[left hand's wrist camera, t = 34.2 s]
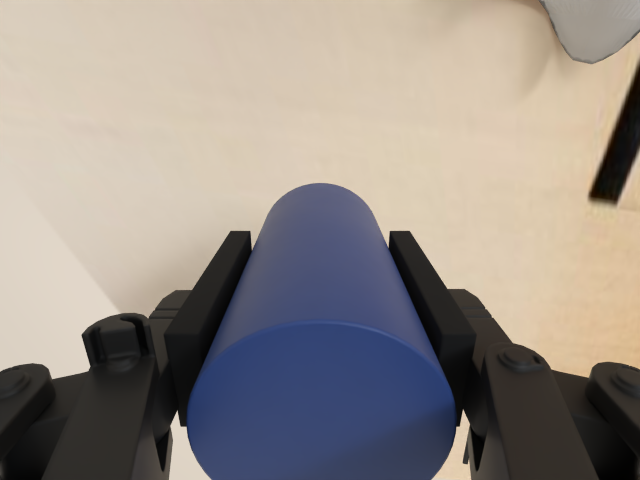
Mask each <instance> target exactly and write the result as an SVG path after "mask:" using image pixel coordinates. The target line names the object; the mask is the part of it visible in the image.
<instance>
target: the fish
mask: <svg viewBox="0 0 640 480" xmlns="http://www.w3.org/2000/svg"><path fill="white" fill-rule="evenodd" d="M539 2H540V3H541V4H542V6H543V7H544V8H545V10H546V11H547V12H548V14H549V17H550V20H551V23H552V26H553V28H554V31H555V33H556V35H557V37H558V39H559V41H560V43H561V44H562V46H563V48H564V49H565V51H566V53H567V54H568V55H569V56H570V57H571V58H572V60H575V61H579V62H584V63H589V64H593V63H596V62H599V61H601V60H604V59H605V58H607V57H609V56H611V55H612V54H614V53H616V52H618V51H619V50H620V49H621V48H622V47H624V46H625V45H626V44H627V43H628V42H629V41H631V40H632V39H633V38H634V37H635V36H636V35H637V34H638V33H639V32H640V0H539Z"/></svg>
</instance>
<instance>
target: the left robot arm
mask: <svg viewBox="0 0 640 480" xmlns="http://www.w3.org/2000/svg"><path fill="white" fill-rule="evenodd" d="M389 251H390V253H391V255H392V258H393V260H394V262H395V264H396V267H397V269H398V271H399V273H400V276H401V278H402V280H403V282H404V285H405V287H406V289H407V291H408V294H409V296H410V298H411V300H412V303H413V305H414V307H415V309H416V312H417V314H418V316H419V318H420V321H421V323H422V325H423V327H424V330H425V332H426V334H427V337H428V339H429V341H430V343H431V346H432V348H433V350H434V352H435V355H436V357H437V359H438V361H439V364H440V366H441V368H442V370H443V373H444V375H445V377H446V379H447V382H448V384H449V386H450V388H451V391H452V394H453V397H454V401H455V405H456V414H457V423H456V427H460V422H461V416H462V411H463V410H464V412H465V414H466V416H467V418H468V421H469V423H470V427H469V432H468V437H467V442H466V447H465V452H464V457H463V463H464V464H468V460H469V462H470V471H471V480H640V369H638V368H635V367H632V366H629V365H625V364H621V363H614V362H603V363H598V364H596V365H595V366H594V367H592V370H591V373H590V376H589V378H587V377H582V376H577V375H572V374H568V373H563V372H558V371H555V370H551V368H550V366H549V365H548V363H547V362H546V361H545V359H544V358H543V357H541V356H540V355H539V354H537V353H536V352H535V351H533V350H531V349H529V348H526V347H524V346H522V345H518V344H514V343H512V341H511V340H510V339H509V338H508V336H507V335H506V334H505V332H504V331H503V330H502V328H501V327H500V326H499V325H498V323H497V322H496V321H495V319H494V318H492V316H491V314H490V313H489V312H488V310H487V309H485V307H484V305H483V304H482V303H481V301H480V300H479V299H478V298H477V297H476V296H474V295H473V294H471V293H470V292H468V291H467V290H465V289H447V288H446V286H445V285H444V283H443V282H442V280H441V278H440V277H439V275H438V274H437V272H436V271H435V269H434V268H433V266H432V265H431V263H430V262H429V260H428V259H427V257H426V255H425V254H424V252H423V251H422V249H421V248H420V246H419V245H418V243H417V242H416V240H415V239H414V237H413V236H412V234H411V232H410V231H390V237H389ZM251 252H252V247H251V234H250V231H230V233H229V234H228V236H227V237H226V239H225V240H224V242H223V244H222V245H221V247H220V248H219V250H218V251H217V253H216V254H215V256H214V257H213V259H212V260H211V262H210V263H209V265H208V267H207V268H206V270H205V271H204V273H203V274H202V276H201V277H200V279H199V280H198V282H197V283H196V285H195V286H194V288H193V290H176V291H174V292H173V293H171V294H169V295H168V296H166V297H165V298H163V299H162V301H161V302H160V303H159V304H158V306H157V307H156V308H155V311H153V312H152V314H151V315H150V316H149V319H148V318H147V317H145V316H144V315H142V314H137V313H122V314H118V315H114V316H110V317H107V318H105V319H102V320H100V321H97V322H96V323H94V324H93V325H91V326H90V327H88V328H87V329H86V330H85V331H84V333H83V334H82V338H83V342H84V345H85V349H86V352H87V356H88V359H89V363H90V366H91V367H90V369H89V371H88V372H84V373H80V374H75V375H71V376H66V377H61V378H56V379H52V378H51V375H50V372H49V369H48V368H47V367H45V366H44V365H42V364H33V363H32V364H24V365H18V366H14V367H12V368H8V369H5V370H3V371H1V372H0V480H169V472H170V463H171V453H172V444H173V438H172V432H171V427H170V425H171V423H172V421H173V418H174V416H175V414H176V412H177V410H178V415H179V420H180V426H181V427H187V425H186V414H187V405H188V401H189V397H190V394H191V391H192V389H193V387H194V384H195V382H196V380H197V378H198V375H199V373H200V371H201V368H202V366H203V364H204V361H205V359H206V357H207V354H208V352H209V350H210V347H211V345H212V343H213V340H214V338H215V336H216V333H217V331H218V329H219V327H220V324H221V322H222V320H223V317H224V315H225V313H226V310H227V308H228V306H229V303H230V301H231V299H232V296H233V294H234V292H235V289H236V287H237V285H238V283H239V280H240V278H241V276H242V273H243V271H244V269H245V266H246V264H247V262H248V259H249V257H250V255H251Z"/></svg>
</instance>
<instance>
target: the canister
mask: <svg viewBox="0 0 640 480" xmlns="http://www.w3.org/2000/svg"><path fill="white" fill-rule="evenodd" d="M456 423H457V414H456V405H455V401H454V397H453V394H452V391H451V388H450V386H449V384H448V382H447V379H446V377H445V375H444V373H443V370H442V368H441V366H440V364H439V361H438V359H437V357H436V355H435V352H434V350H433V348H432V346H431V343H430V341H429V339H428V337H427V334H426V332H425V330H424V327H423V325H422V323H421V321H420V318H419V316H418V314H417V312H416V309H415V307H414V305H413V303H412V300H411V298H410V296H409V294H408V291H407V289H406V287H405V285H404V282H403V280H402V278H401V276H400V273H399V271H398V269H397V267H396V264H395V262H394V260H393V258H392V255H391V253H390V251H389V249H388V246H387V244H386V242H385V240H384V237H383V235H382V233H381V230H380V228H379V226H378V224H377V221H376V219H375V217H374V215H373V213H372V211H371V210H370V208H369V207H368V205H367V204H366V203H365V202H364V201H363V200H362V199H361V198H360V197H359V196H358V195H356V194H355V193H353V192H352V191H350V190H348V189H346V188H343V187H340V186H337V185H333V184H327V183H315V184H308V185H304V186H301V187H298V188H295V189H294V190H292V191H290V192H288V193H287V194H285V195H284V196H282V197H281V198H280V199H279V200H278V201H277V202H276V203H275V204H274V206H273V207H272V208H271V210H270V212H269V213H268V215H267V218H266V220H265V222H264V225H263V227H262V229H261V232H260V234H259V236H258V238H257V241H256V243H255V245H254V248H253V250H252V252H251V255H250V257H249V259H248V262H247V264H246V266H245V269H244V271H243V273H242V276H241V278H240V280H239V283H238V285H237V287H236V289H235V292H234V294H233V296H232V299H231V301H230V303H229V306H228V308H227V310H226V313H225V315H224V317H223V320H222V322H221V324H220V327H219V329H218V331H217V333H216V336H215V338H214V340H213V343H212V345H211V347H210V350H209V352H208V354H207V357H206V359H205V361H204V364H203V366H202V368H201V371H200V373H199V375H198V378H197V380H196V382H195V384H194V387H193V389H192V391H191V394H190V397H189V401H188V405H187V414H186V425H187V434H188V439H189V442H190V446H191V449H192V451H193V453H194V455H195V457H196V460H197V461H198V463H199V464H200V466H201V467H202V469H203V470H204V472H205V473H206V474H207V475H208V476H209V477H210V478H211V480H431V479H432V478H433V477H434V476H435V475H436V474H437V472H438V471H439V470H440V469H441V467H442V466H443V464H444V462H445V461H446V459H447V457H448V455H449V453H450V451H451V448H452V446H453V442H454V438H455V434H456Z"/></svg>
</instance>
